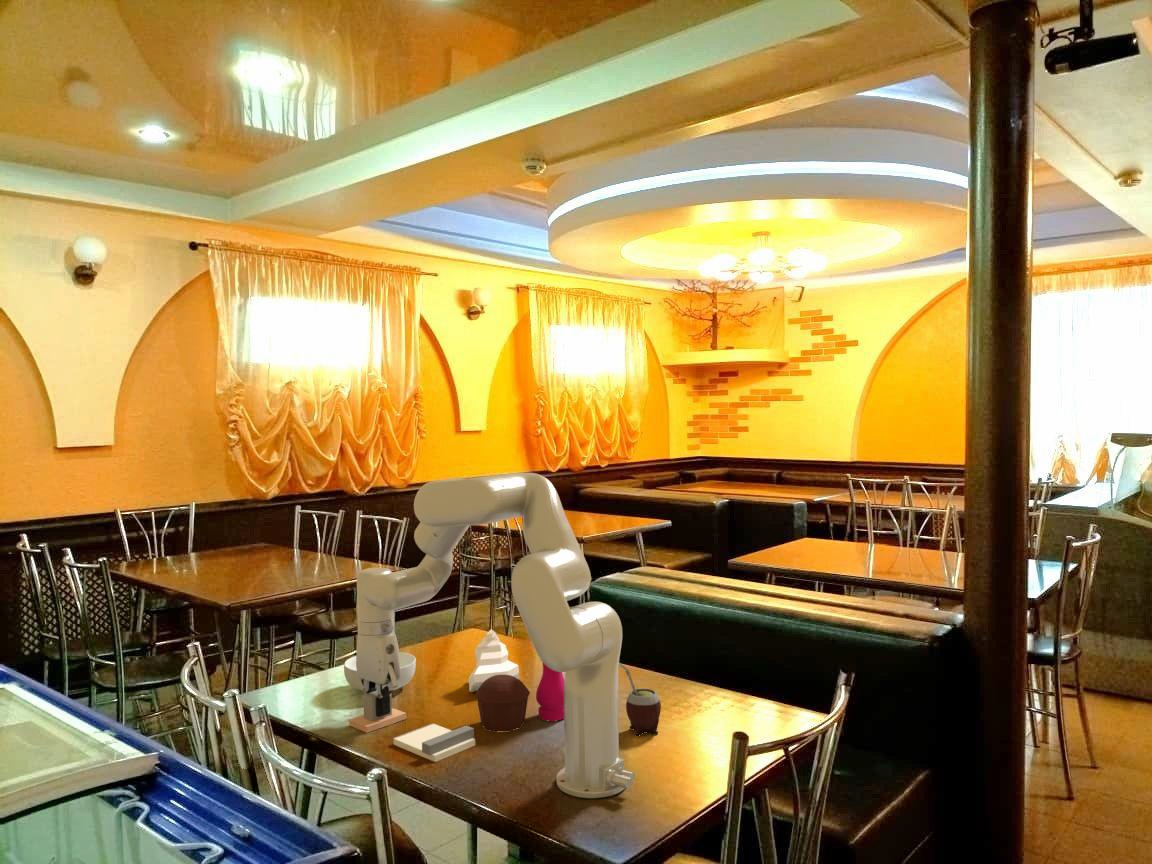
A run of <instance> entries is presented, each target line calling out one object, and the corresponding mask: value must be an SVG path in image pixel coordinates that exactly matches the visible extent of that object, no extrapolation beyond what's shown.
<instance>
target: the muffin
mask: <svg viewBox="0 0 1152 864" xmlns="http://www.w3.org/2000/svg"><path fill="white" fill-rule="evenodd" d="M530 694H531V692H530V690H529V689H528V688H527V687H526V685H525V683H524V682H523V681H522V680H521V679H520V678H519V679H517V678H516V677H514V676H511V675H495V676H492V677H490V678H488V679H487V680H485V681H484V682H483V683H482V685H481V686H480V687H479V689H478V690H477V691H476V693H474V695H475V697H476V699H477V701H476V702H477V705H478V711H479V718H480V724H481V726H482V727H483V726H484V727H483V729H484V728H485V729H486V730H485V729H484V730H485V731H487V730H491V731H490V732H492V731H495V732H497V731H511V730H513V729H516V728H520V727H521V728H522V726H523V725H524V724H525V721H526V713H527V707H528V699H529V696H530ZM523 723H524V724H523ZM522 724H523V725H522ZM521 725H522V726H521ZM521 728H520V729H521ZM495 732H494V733H495ZM511 732H512V731H511Z"/></svg>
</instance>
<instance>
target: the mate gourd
mask: <svg viewBox="0 0 1152 864" xmlns="http://www.w3.org/2000/svg"><path fill="white" fill-rule="evenodd" d="M619 667H621V668H623V670H624V672H625V673H626V676H628V680H629V683H630V685H631V688H632V690H630V692H629V694H628V696H627V698H626V703H625V709H626V710H625V711H626V714H627V717H628V719H629V722H630V726H629V729H630V730H631V729H634V730H633V731H635V730H636V731H635V732H636V733H634V736H635V735H636V736H639V735H640V736H642V735H643V734H645V733H644V732H647V733H646V734H649V733H651V734H650V735H653V734H656V735H655V736H657V735H658V734H659V732H658V731H657V730H658V727H659V722H660V715H661V709H662V706H661V698H660V696H659V695H658V693H657V692H656V691H655V690H653V689H650V688H636V686H635V684H634V681H633V678H632V676H631V671H630V670H629V669H628V667H626V666H625V665H624V664H622V663H620V662H619ZM642 733H643V734H642ZM641 734H642V735H641ZM636 736H635V737H636ZM640 736H639V737H640Z"/></svg>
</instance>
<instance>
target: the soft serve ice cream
mask: <svg viewBox="0 0 1152 864" xmlns="http://www.w3.org/2000/svg"><path fill="white" fill-rule="evenodd" d="M474 654H475V659H476V666H475V668H474V670H473V671H472V672H471V674H470V676H469V677H468V686H469V687H468V690H469V691H470V692H471V693H475V692H474V691H476V692H477V690H478V689H479V687H480V686H481V685H482V683H483V682H484V681H485V680H487V679H488V678H490V677H492V676H495V675H511V676H514V677H516V678H517V679H519V680H520V671H519V664H517V663H514V662H512V661H510V660H509V659H508V657H509V656H508V655H509V650H508V649H507V646H506V644H504V643H503V642H501V641H500V638H499V637H498V636H497V632H495V631H494V630H493V629H492V628H490V630H489V631H488V632H487V633H486V635H484V636H483V637H482V640H481V641H480V642H479V643H478V644H477V646H476V647H475V650H474ZM469 691H468V692H469Z"/></svg>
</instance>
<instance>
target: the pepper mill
mask: <svg viewBox="0 0 1152 864" xmlns="http://www.w3.org/2000/svg"><path fill="white" fill-rule="evenodd" d="M539 659H540V658H539ZM540 661H541V659H540ZM564 677H565V676H564V675H563V672H557V671H554V670H552V669H550V668H548V667H547V666H546V665H545V664H544V663H543V662H542V675H541V678H540V680H539V681H540V682H539V683H538V686H537V689H536V692H535V693H536V694H535V700H536V702H537V703H538V705H539V707H538V718H539V719H540V718H541V719H540V720H542V719H543V720H542V721H544V720H549V721H548V722H556V721H555V720H560V721H562V720H561V719H563V720H564Z"/></svg>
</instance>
